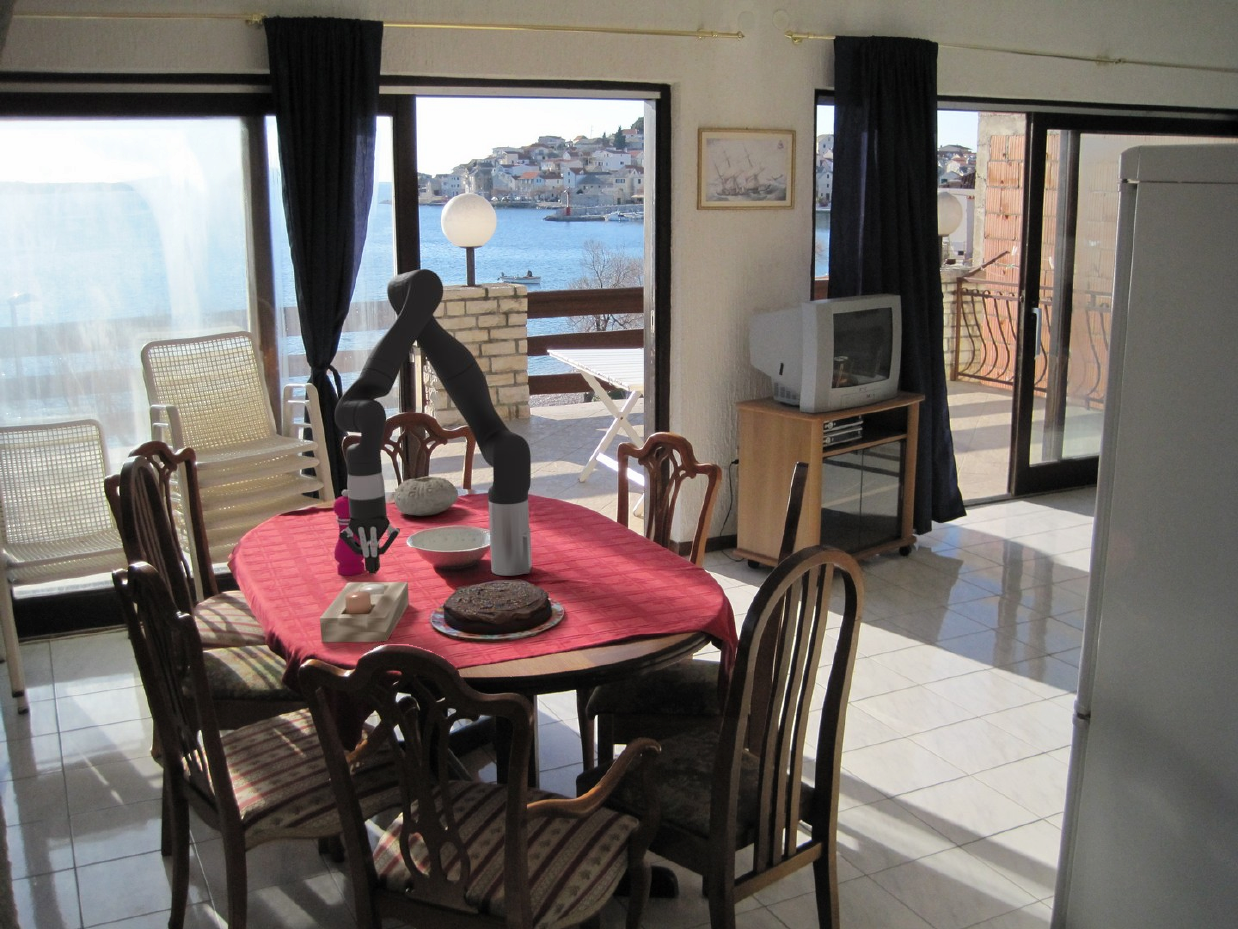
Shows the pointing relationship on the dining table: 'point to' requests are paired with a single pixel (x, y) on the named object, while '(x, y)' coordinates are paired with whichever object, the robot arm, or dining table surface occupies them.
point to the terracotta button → (358, 602)
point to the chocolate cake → (497, 612)
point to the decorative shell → (425, 496)
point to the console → (365, 615)
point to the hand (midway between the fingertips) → (373, 572)
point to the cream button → (373, 589)
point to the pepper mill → (343, 553)
